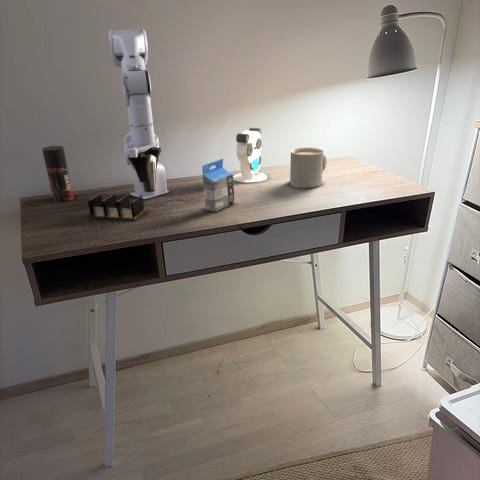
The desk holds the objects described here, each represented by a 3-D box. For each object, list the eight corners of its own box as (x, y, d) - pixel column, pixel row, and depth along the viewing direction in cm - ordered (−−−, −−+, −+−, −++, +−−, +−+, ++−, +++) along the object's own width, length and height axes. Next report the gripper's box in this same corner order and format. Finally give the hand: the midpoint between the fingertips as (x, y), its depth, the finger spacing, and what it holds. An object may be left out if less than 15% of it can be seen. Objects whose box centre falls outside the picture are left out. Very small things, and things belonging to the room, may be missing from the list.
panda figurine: (258, 184, 162) (257, 135, 155) (226, 181, 167) (224, 133, 159) (272, 175, 171) (272, 128, 164) (242, 172, 176) (240, 126, 168)
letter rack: (90, 218, 139) (87, 200, 136) (102, 210, 145) (99, 192, 142) (134, 221, 136) (131, 202, 134) (145, 212, 142) (142, 194, 139)
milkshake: (149, 187, 137) (144, 148, 132) (162, 190, 134) (158, 150, 129) (136, 190, 134) (131, 151, 129) (149, 194, 131) (145, 154, 126)
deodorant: (69, 201, 153) (58, 150, 145) (50, 201, 153) (38, 150, 145) (76, 195, 158) (66, 145, 150) (57, 195, 158) (46, 145, 150)
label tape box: (215, 212, 140) (213, 167, 134) (204, 210, 142) (201, 165, 136) (235, 203, 146) (233, 160, 140) (224, 201, 148) (221, 158, 142)
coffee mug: (301, 189, 156) (302, 156, 151) (284, 182, 163) (284, 150, 158) (336, 183, 161) (339, 150, 156) (318, 176, 169) (320, 144, 164)
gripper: (138, 119, 133) (145, 171, 140) (113, 129, 121) (121, 186, 128) (163, 119, 131) (169, 172, 138) (140, 130, 119) (147, 187, 126)
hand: (148, 179), depth 133 cm, fingers closed on milkshake, 4 cm apart
